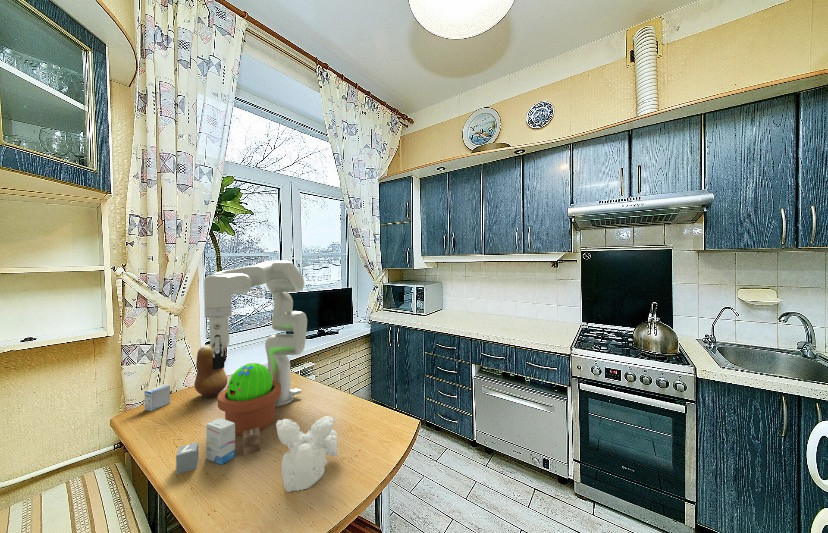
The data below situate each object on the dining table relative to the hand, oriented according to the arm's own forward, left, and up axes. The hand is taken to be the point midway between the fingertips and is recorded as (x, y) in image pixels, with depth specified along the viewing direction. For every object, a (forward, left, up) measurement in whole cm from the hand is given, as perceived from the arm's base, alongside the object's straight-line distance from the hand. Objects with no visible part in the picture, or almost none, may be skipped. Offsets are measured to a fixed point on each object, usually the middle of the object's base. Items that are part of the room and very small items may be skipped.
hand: (219, 364), depth 99 cm
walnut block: (-9, 0, -32) cm, 33 cm away
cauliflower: (-25, +20, -32) cm, 45 cm away
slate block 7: (+9, 0, -32) cm, 33 cm away
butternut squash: (+8, -57, -32) cm, 66 cm away
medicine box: (+28, -56, -32) cm, 70 cm away
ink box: (0, 0, -32) cm, 32 cm away
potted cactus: (-9, -19, -32) cm, 38 cm away
